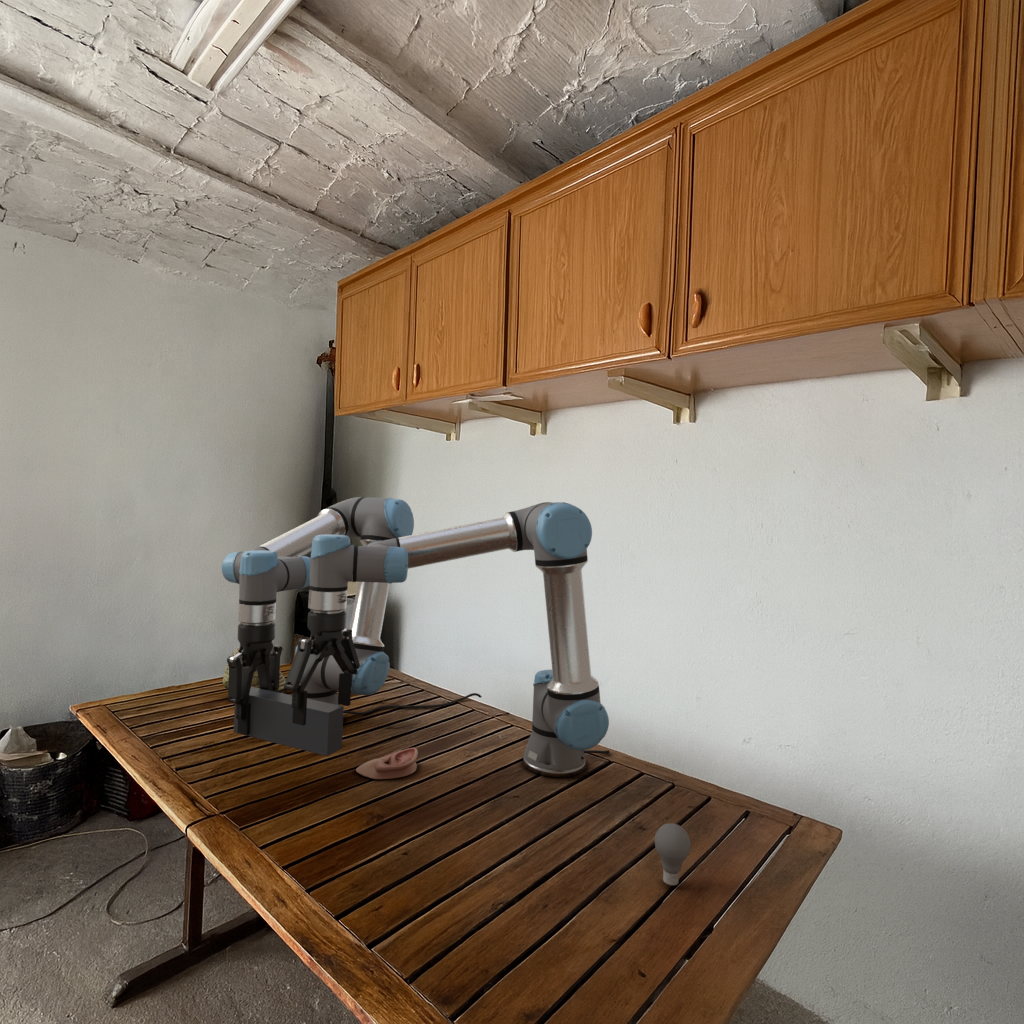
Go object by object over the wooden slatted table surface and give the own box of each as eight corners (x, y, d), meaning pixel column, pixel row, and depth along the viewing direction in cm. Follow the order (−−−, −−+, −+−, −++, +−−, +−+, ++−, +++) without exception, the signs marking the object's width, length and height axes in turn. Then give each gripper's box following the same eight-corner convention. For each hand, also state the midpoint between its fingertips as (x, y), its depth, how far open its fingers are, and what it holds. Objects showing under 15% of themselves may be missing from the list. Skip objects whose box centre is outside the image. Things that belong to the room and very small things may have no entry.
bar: (233, 732, 136) (234, 691, 136) (250, 725, 141) (251, 686, 140) (327, 756, 126) (328, 712, 126) (342, 748, 130) (343, 706, 130)
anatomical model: (350, 758, 144) (371, 740, 155) (349, 775, 144) (371, 756, 155) (405, 766, 141) (423, 746, 152) (405, 783, 141) (422, 763, 152)
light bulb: (648, 873, 111) (650, 816, 111) (681, 872, 111) (684, 816, 111) (659, 894, 105) (661, 834, 105) (694, 894, 105) (697, 834, 105)
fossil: (218, 695, 195) (220, 647, 195) (278, 685, 208) (279, 640, 207) (228, 703, 189) (230, 653, 188) (289, 692, 201) (290, 645, 201)
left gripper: (237, 631, 127) (233, 746, 128) (299, 618, 143) (295, 720, 144) (210, 627, 130) (206, 739, 131) (274, 614, 146) (270, 714, 147)
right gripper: (298, 622, 116) (293, 736, 116) (379, 604, 139) (374, 700, 139) (267, 617, 119) (262, 729, 119) (351, 600, 142) (346, 694, 142)
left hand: (253, 729), depth 137 cm, fingers closed on bar, 5 cm apart
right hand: (322, 713), depth 129 cm, fingers open, 13 cm apart
